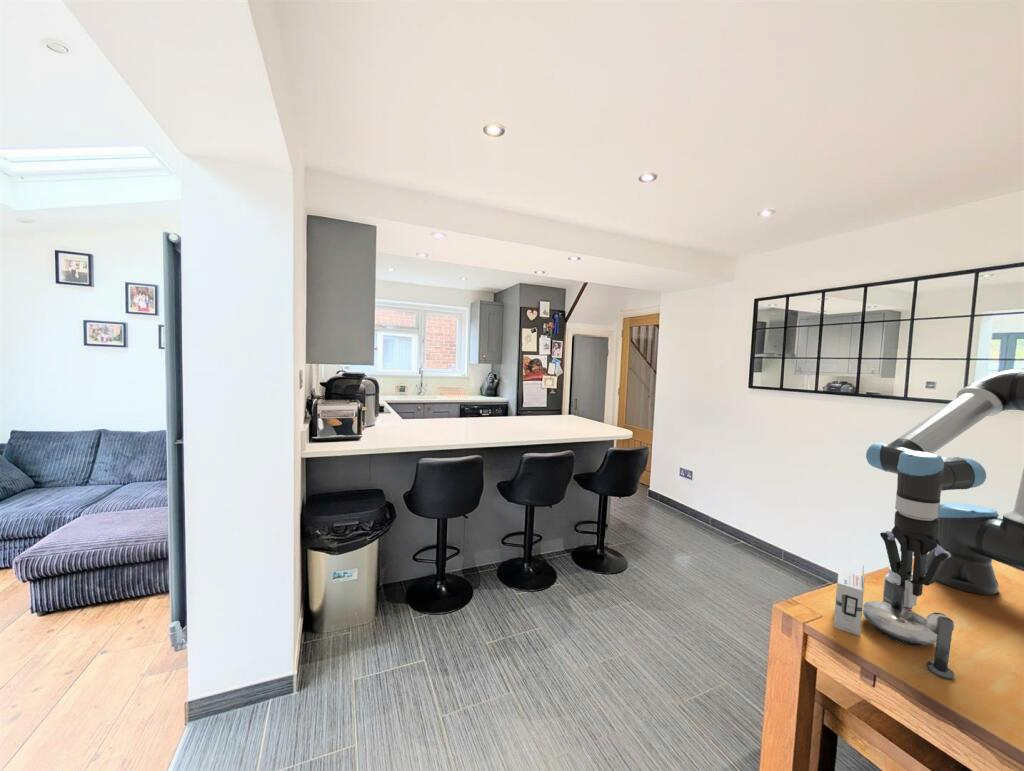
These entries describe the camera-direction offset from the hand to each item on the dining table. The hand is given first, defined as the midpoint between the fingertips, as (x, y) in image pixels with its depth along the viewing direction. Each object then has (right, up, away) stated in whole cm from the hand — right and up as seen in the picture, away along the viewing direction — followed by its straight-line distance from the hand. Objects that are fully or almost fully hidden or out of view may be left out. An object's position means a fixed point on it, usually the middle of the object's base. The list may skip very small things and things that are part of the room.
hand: (909, 604), depth 98 cm
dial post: (-9, -6, -15) cm, 18 cm away
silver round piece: (-6, -3, -3) cm, 7 cm away
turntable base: (-6, -5, -3) cm, 8 cm away
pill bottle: (+4, -4, +7) cm, 9 cm away
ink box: (-16, -5, 0) cm, 17 cm away
